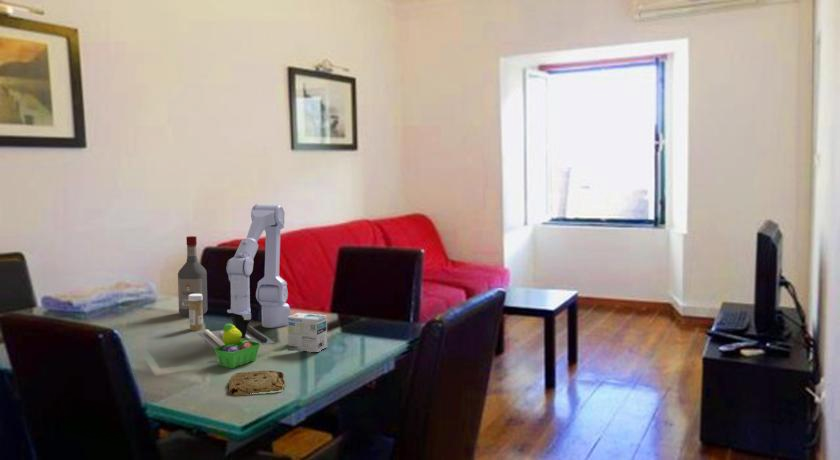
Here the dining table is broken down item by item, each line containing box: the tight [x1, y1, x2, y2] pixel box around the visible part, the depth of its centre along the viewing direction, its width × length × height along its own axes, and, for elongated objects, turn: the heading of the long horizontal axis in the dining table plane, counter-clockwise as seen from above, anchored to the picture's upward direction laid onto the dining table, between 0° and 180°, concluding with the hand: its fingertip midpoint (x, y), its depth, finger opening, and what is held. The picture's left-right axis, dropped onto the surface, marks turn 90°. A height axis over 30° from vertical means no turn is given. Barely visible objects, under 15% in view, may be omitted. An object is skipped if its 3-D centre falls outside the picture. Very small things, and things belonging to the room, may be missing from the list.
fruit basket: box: [213, 323, 261, 369], centre depth 181 cm, size 11×9×11 cm
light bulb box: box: [287, 312, 328, 353], centre depth 195 cm, size 11×7×11 cm, turn 71°
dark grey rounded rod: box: [247, 325, 268, 342], centre depth 206 cm, size 1×21×1 cm, turn 33°
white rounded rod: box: [204, 329, 225, 346], centre depth 199 cm, size 1×21×1 cm, turn 33°
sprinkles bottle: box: [188, 294, 204, 332], centre depth 212 cm, size 5×5×14 cm
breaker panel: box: [197, 325, 276, 350], centre depth 202 cm, size 18×24×2 cm
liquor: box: [177, 235, 208, 317], centre depth 240 cm, size 9×9×30 cm
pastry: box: [228, 369, 286, 397], centre depth 163 cm, size 17×17×3 cm
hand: (241, 337), depth 197 cm, fingers closed
